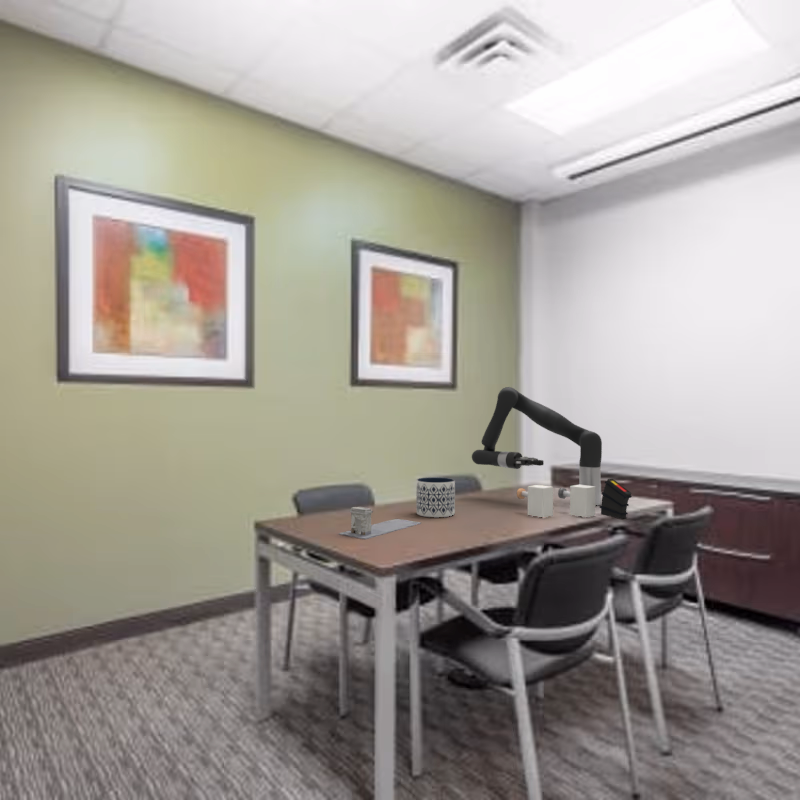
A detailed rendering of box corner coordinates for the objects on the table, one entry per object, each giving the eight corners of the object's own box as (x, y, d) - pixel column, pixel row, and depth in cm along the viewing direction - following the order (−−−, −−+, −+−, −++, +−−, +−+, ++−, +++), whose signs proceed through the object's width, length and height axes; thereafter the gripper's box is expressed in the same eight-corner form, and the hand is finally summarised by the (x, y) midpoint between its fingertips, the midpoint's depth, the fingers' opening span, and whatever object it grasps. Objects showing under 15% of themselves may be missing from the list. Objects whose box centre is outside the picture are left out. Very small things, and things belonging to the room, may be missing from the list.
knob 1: (523, 497, 253) (523, 487, 253) (539, 500, 247) (539, 489, 247) (516, 499, 250) (516, 488, 250) (533, 501, 244) (533, 491, 244)
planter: (412, 511, 253) (413, 477, 253) (449, 510, 256) (449, 476, 256) (420, 518, 238) (421, 482, 238) (459, 517, 241) (459, 482, 241)
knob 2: (563, 497, 255) (563, 487, 255) (581, 500, 248) (581, 489, 248) (558, 498, 252) (558, 488, 252) (576, 501, 245) (576, 490, 245)
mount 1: (537, 513, 250) (537, 484, 250) (553, 516, 244) (553, 486, 244) (527, 515, 245) (527, 486, 245) (543, 518, 239) (543, 488, 239)
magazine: (600, 508, 253) (612, 478, 247) (622, 526, 242) (636, 496, 237) (594, 508, 251) (606, 478, 245) (616, 527, 241) (629, 496, 235)
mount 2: (579, 512, 251) (579, 484, 251) (595, 515, 245) (595, 486, 245) (569, 515, 246) (570, 486, 246) (586, 517, 241) (586, 488, 241)
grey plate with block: (338, 535, 210) (338, 508, 210) (396, 520, 236) (396, 496, 236) (365, 540, 202) (365, 512, 202) (421, 524, 229) (421, 499, 229)
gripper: (501, 452, 269) (533, 455, 256) (519, 450, 278) (551, 453, 265) (500, 469, 269) (533, 472, 256) (518, 467, 278) (550, 470, 265)
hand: (542, 463), depth 260 cm, fingers closed
